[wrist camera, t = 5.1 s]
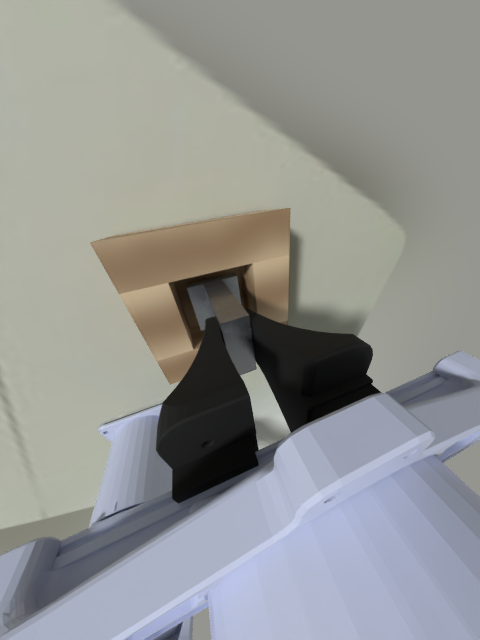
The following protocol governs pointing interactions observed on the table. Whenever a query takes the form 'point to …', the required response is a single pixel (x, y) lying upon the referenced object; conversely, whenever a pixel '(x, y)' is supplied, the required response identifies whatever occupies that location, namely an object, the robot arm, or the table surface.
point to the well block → (197, 276)
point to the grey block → (225, 317)
